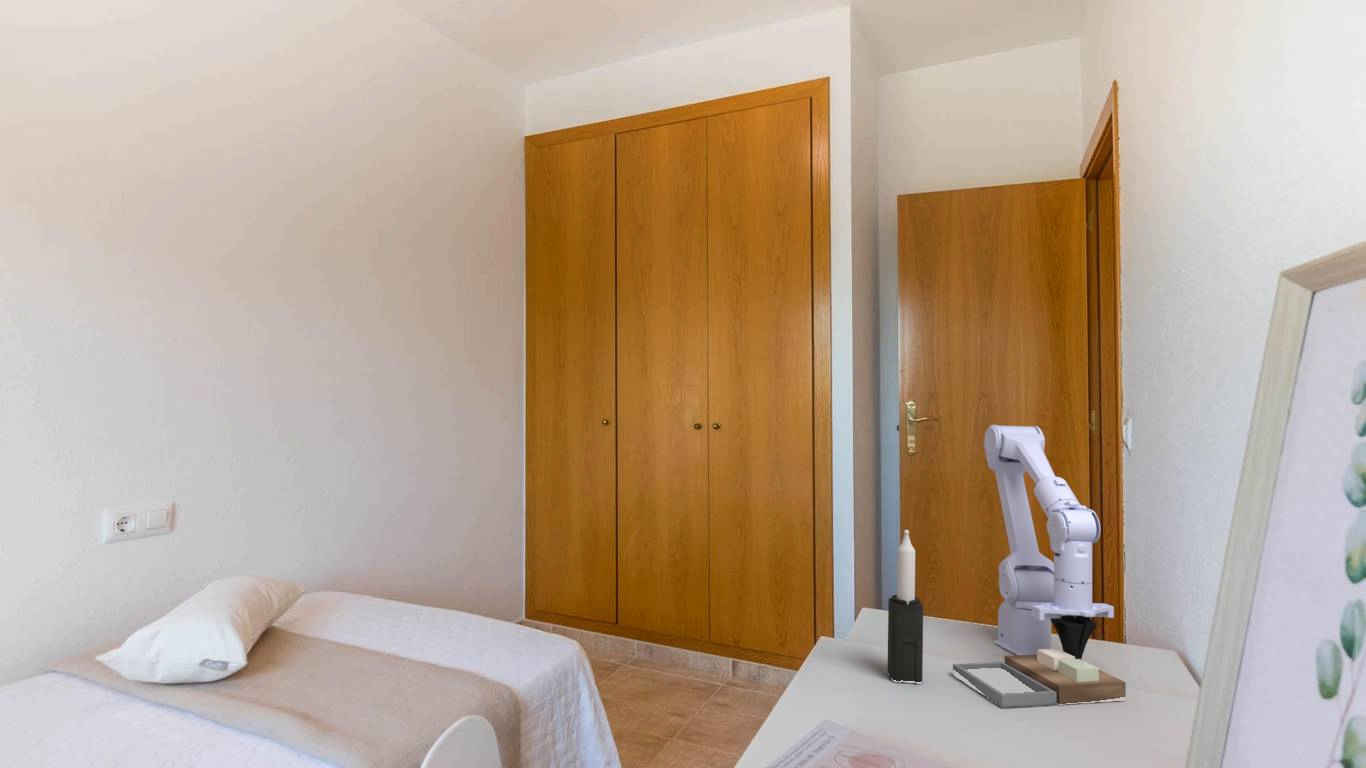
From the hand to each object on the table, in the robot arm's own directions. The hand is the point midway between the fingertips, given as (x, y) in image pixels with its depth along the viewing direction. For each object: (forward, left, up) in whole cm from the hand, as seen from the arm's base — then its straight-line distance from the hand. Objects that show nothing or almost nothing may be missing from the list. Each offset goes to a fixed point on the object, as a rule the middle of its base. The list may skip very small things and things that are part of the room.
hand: (1072, 660), depth 114 cm
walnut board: (+1, -3, -4) cm, 5 cm away
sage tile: (+5, -3, -1) cm, 6 cm away
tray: (+1, -14, -4) cm, 15 cm away
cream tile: (0, -3, -1) cm, 3 cm away
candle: (-5, -28, -4) cm, 29 cm away
